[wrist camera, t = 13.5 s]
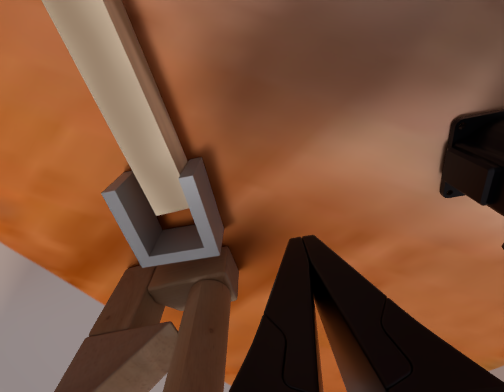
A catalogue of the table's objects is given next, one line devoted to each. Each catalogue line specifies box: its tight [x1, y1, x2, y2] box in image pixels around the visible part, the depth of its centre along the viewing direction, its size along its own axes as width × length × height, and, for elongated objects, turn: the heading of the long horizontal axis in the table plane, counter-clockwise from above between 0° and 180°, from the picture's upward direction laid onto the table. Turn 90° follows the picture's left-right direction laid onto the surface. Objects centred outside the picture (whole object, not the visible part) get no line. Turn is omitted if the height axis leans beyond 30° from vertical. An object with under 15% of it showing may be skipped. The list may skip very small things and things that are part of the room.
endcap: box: [101, 157, 224, 268], centre depth 20 cm, size 6×7×4 cm
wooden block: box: [54, 246, 239, 392], centre depth 18 cm, size 4×11×18 cm, turn 106°
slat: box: [42, 0, 189, 216], centre depth 15 cm, size 3×22×3 cm, turn 15°
